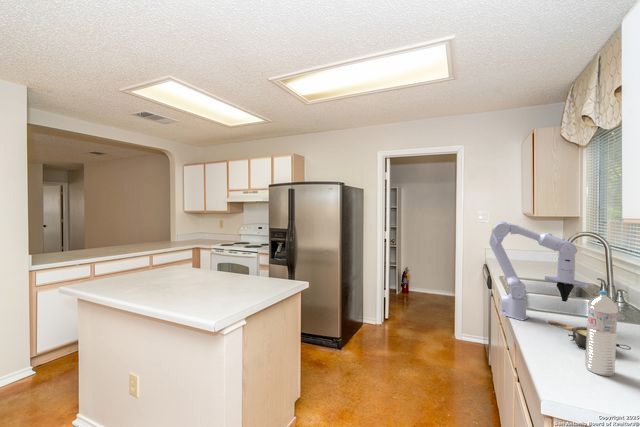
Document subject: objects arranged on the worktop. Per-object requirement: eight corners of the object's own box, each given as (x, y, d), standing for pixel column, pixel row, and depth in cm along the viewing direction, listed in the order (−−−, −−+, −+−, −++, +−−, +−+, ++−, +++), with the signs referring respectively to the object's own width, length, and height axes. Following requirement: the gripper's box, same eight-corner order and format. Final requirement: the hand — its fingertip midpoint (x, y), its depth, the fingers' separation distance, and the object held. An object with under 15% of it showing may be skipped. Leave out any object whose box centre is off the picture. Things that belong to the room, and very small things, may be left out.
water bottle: (584, 362, 100) (588, 287, 99) (613, 370, 96) (617, 291, 95) (585, 371, 95) (589, 291, 94) (615, 380, 91) (620, 296, 90)
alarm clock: (572, 323, 119) (631, 336, 108) (572, 337, 120) (631, 351, 108) (567, 331, 112) (630, 345, 100) (567, 346, 112) (630, 362, 100)
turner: (547, 324, 133) (547, 321, 133) (550, 321, 135) (550, 319, 135) (589, 335, 122) (589, 333, 122) (592, 332, 124) (592, 330, 124)
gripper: (590, 271, 128) (589, 303, 129) (548, 265, 140) (547, 295, 140) (586, 273, 124) (584, 306, 124) (543, 267, 135) (542, 297, 136)
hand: (564, 300), depth 132 cm, fingers closed
